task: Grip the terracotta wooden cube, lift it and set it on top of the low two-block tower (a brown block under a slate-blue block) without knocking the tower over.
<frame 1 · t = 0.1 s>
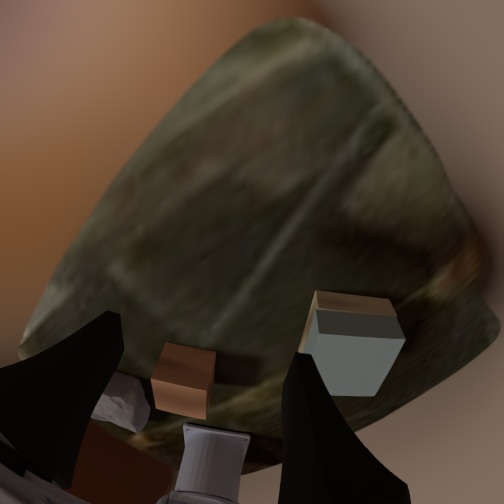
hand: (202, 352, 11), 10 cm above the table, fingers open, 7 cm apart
brown block: (342, 323, 23), on the table, touching top block
terracotta cube: (191, 363, 26), on the table
stone block: (106, 387, 31), on the table
top block: (345, 345, 21), point 2 cm above the table, touching brown block
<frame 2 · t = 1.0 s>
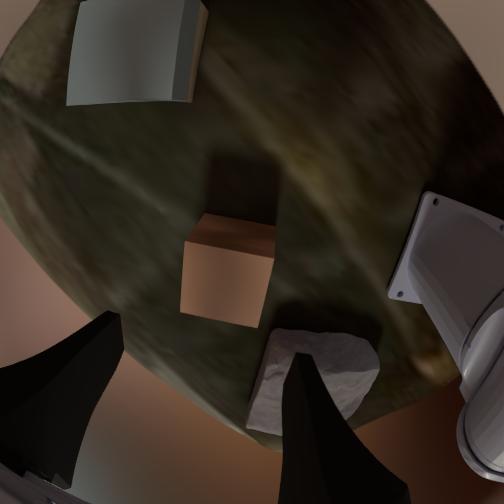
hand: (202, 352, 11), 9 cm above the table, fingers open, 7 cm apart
brown block: (155, 54, 15), on the table, touching top block
terracotta cube: (234, 250, 20), on the table
stone block: (310, 375, 25), on the table
top block: (141, 50, 13), point 2 cm above the table, touching brown block
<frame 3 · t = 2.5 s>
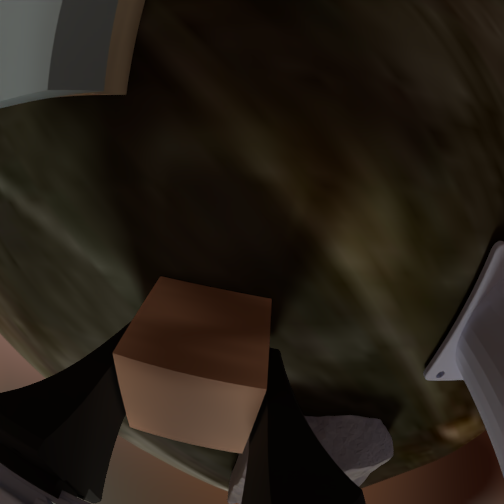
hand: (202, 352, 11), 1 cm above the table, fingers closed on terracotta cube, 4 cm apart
brown block: (81, 28, 8), on the table, touching top block
terracotta cube: (209, 330, 13), on the table, touching gripper
stone block: (306, 450, 18), on the table
top block: (45, 19, 6), point 2 cm above the table, touching brown block
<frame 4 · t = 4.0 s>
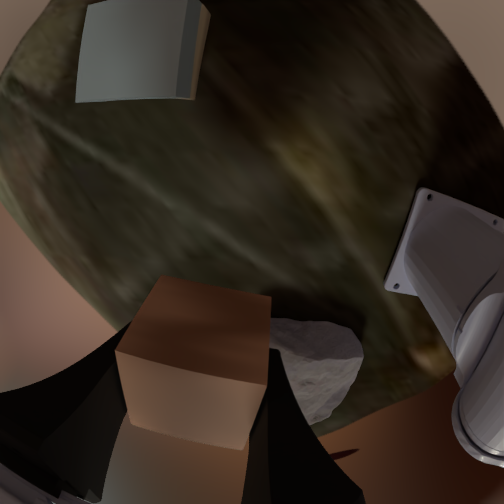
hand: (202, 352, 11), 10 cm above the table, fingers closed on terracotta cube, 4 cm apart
brown block: (159, 55, 16), on the table, touching top block
terracotta cube: (209, 328, 13), point 9 cm above the table, touching gripper
stone block: (297, 365, 26), on the table
top block: (145, 51, 14), point 2 cm above the table, touching brown block
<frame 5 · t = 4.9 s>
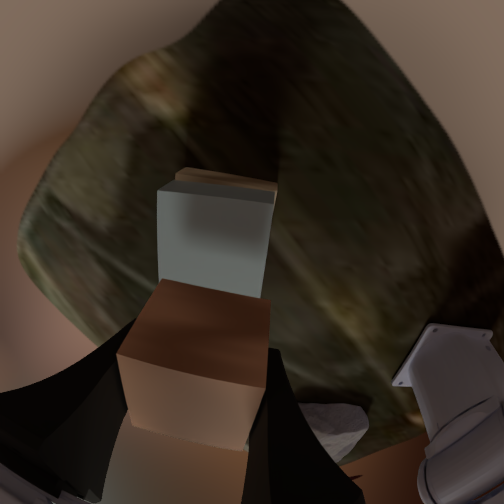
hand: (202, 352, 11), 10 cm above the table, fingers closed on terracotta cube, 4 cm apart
brown block: (225, 215, 21), on the table, touching top block
terracotta cube: (210, 330, 13), point 9 cm above the table, touching gripper
stone block: (317, 427, 31), on the table
top block: (218, 233, 18), point 2 cm above the table, touching brown block
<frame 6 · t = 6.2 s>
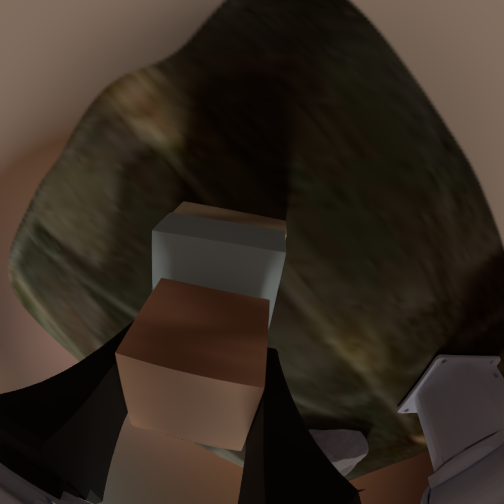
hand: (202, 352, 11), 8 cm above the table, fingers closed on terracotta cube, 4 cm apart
brown block: (227, 253, 19), on the table
terracotta cube: (209, 330, 13), point 6 cm above the table, touching gripper
stone block: (317, 449, 29), on the table
top block: (220, 272, 17), point 2 cm above the table
when the fingers open (8 cm above the table, at t = 6.6 s): terracotta cube drops 2 cm, point 5 cm above the table.
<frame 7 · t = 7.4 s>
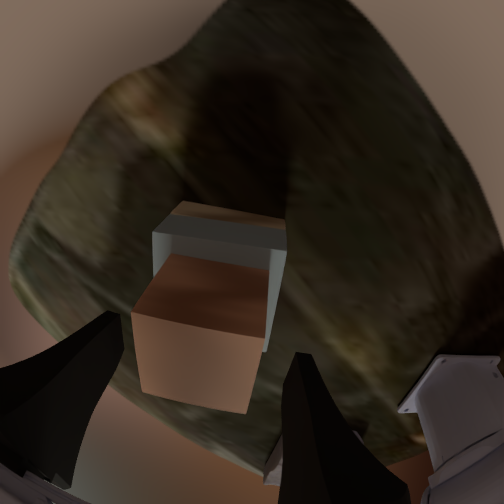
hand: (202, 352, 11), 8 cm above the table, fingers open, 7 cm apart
brown block: (226, 253, 19), on the table, touching top block
terracotta cube: (214, 302, 14), point 5 cm above the table
stone block: (313, 448, 29), on the table
top block: (221, 272, 17), point 2 cm above the table, touching brown block
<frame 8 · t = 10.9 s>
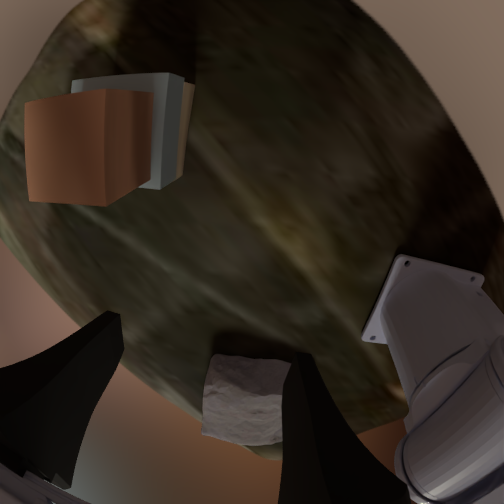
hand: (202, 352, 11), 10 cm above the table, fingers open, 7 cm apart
brown block: (147, 125, 18), on the table, touching top block
terracotta cube: (113, 136, 14), point 5 cm above the table
stone block: (256, 392, 28), on the table
top block: (132, 127, 16), point 2 cm above the table, touching brown block
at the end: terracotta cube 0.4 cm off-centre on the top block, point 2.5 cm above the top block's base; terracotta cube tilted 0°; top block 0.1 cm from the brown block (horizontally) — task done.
